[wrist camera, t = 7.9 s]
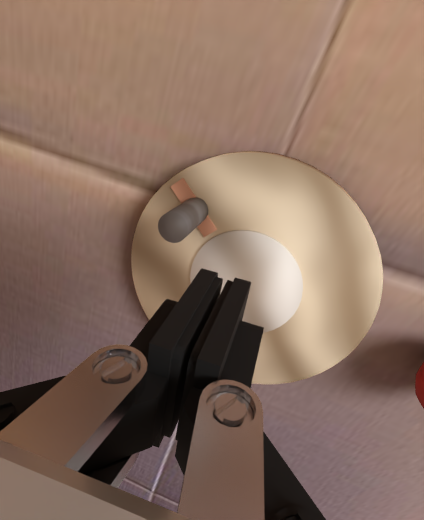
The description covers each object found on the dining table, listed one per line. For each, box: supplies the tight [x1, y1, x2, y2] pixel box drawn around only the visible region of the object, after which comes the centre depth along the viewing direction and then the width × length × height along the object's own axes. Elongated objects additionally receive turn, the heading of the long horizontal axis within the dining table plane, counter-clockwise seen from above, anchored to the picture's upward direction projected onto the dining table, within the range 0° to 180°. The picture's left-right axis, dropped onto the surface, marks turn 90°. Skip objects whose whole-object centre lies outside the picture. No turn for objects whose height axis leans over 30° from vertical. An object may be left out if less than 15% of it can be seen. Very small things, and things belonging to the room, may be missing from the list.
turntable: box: [131, 151, 383, 384], centre depth 26 cm, size 20×20×6 cm
